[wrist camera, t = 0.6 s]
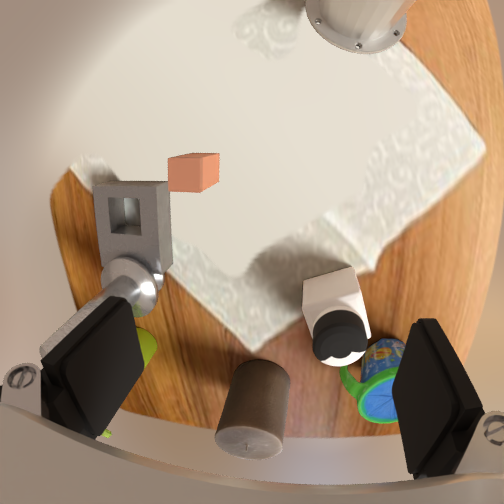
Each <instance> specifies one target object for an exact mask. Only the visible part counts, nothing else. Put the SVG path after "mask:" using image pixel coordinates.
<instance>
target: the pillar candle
mask: <svg viewBox="0 0 504 504" xmlns="http://www.w3.org/2000/svg"><path fill="white" fill-rule="evenodd" d="M289 389H290V378H289V376H288V374H287V372H286V371H285V370H284V369H283V368H281V367H280V366H278V365H276V364H274V363H272V362H269V361H265V360H252V361H248V362H246V363H243V364H241V365H239V367H238V369H237V370H235V372H234V375H233V379H232V382H231V386H230V389H229V392H228V395H227V398H226V402H225V405H224V409H223V412H222V415H221V418H220V421H219V424H218V427H217V431H216V434H215V442H216V443H217V445H218V446H219V447H220V448H221V449H222V450H224V451H225V452H227V453H228V454H230V455H233V456H236V457H238V458H242V459H247V460H262V459H269V458H271V457H274V456H276V455H278V454H279V453H280V452H281V451H283V448H282V444H283V437H284V430H285V423H286V417H287V409H288V399H289Z"/></svg>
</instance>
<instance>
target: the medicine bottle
mask: <svg viewBox="0 0 504 504" xmlns="http://www.w3.org/2000/svg"><path fill="white" fill-rule="evenodd" d="M302 311H303V314H304V317H305V319H306V322H307V325H308V328H309V331H310V333H311V336H312V339H313V352H314V354H315V356H316V357H317V358H318V359H319V360H320V361H321V362H323V363H325V364H327V365H331V366H345V365H348V364H351V363H353V362H355V361H356V360H358V359H359V358H360V357H361V356H362V355H363V354H364V352H365V351H366V348H367V345H368V339H369V338H370V337H371V332H370V328H369V323H368V319H367V314H366V310H365V306H364V302H363V297H362V293H361V290H360V286H359V283H358V280H357V276H356V273H355V270H354V268H353V267H348V268H344V269H341V270H338V271H334V272H331V273H327V274H324V275H321V276H317V277H314V278H310V279H306V280H304V281H303V288H302Z"/></svg>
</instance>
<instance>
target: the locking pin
mask: <svg viewBox="0 0 504 504" xmlns="http://www.w3.org/2000/svg"><path fill="white" fill-rule="evenodd" d="M217 182H219V153H218V154H217V153H190V154H185V155H180V156H176V157H171V158H168V191H172V192H196V193H198V192H199V193H200V192H202V191H203V190H205V189H207V188H209V187H210V186H212V185H214V184H216V183H217Z"/></svg>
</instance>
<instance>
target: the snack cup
mask: <svg viewBox="0 0 504 504" xmlns="http://www.w3.org/2000/svg"><path fill="white" fill-rule="evenodd" d="M405 346H406V345H405V344H404V343H403V342H401V341H399V340H398V339H384V338H382V339H380V340H379V341H378V342H376V343H374V344H372V345H371V346H370V347H369V348H368V349H367V350H366V351H365V352H364V354H363V358H362V368H361V380H360V383H359V382H357V381H356V380H355V378H354V377H353V376H352V375H351V374H350V373H349V372H348V370H347V368H348V365H345V366H341V368H340V372H339V373H340V377H341V380H342V382H343V384H344V386H345V388H346V390H347V391H348V392H349V393H350V394H351V395H352V396H353V397H354V398H356V400H357V406H358V411H359V413H360V415H361V416H362V417H363V418H365V419H366V420H368V421H371V422H375V423H392V422H397V421H398V418H397V414H396V409H395V405H394V401H393V397H392V385H393V382H394V379H395V376H396V373H397V370H398V367H399V365H400V362H401V358H402V355H403V352H404V349H405Z"/></svg>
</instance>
